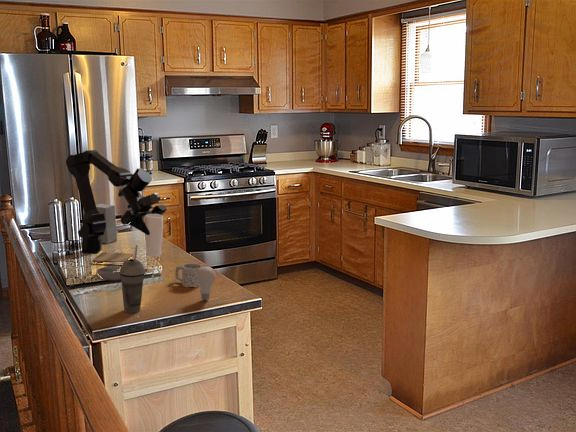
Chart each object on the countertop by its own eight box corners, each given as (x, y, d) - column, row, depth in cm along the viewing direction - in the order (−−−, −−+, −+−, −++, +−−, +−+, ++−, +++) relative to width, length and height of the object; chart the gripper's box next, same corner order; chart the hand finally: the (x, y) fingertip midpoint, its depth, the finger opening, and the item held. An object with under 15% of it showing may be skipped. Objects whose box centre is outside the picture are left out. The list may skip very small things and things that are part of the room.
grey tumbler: (165, 253, 222) (165, 214, 219) (159, 258, 216) (159, 218, 212) (148, 252, 223) (147, 213, 220) (141, 257, 216) (141, 217, 213)
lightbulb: (218, 299, 189) (219, 265, 187) (209, 304, 184) (210, 270, 181) (201, 296, 191) (201, 263, 189) (191, 301, 185) (192, 267, 183)
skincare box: (117, 241, 255) (117, 205, 252) (105, 244, 249) (105, 207, 246) (102, 238, 259) (102, 202, 256) (90, 241, 253) (90, 205, 250)
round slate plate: (91, 279, 202) (91, 275, 201) (103, 269, 214) (103, 265, 214) (130, 281, 202) (130, 277, 202) (139, 270, 215) (139, 266, 214)
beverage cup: (122, 306, 178) (122, 241, 175) (146, 306, 179) (147, 242, 175) (117, 314, 171) (117, 247, 167) (142, 315, 172) (143, 248, 168)
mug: (205, 284, 204) (205, 265, 203) (194, 289, 198) (194, 269, 197) (181, 279, 208) (181, 260, 207) (169, 283, 202) (170, 265, 201)
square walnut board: (92, 264, 220) (92, 260, 219) (102, 255, 232) (102, 252, 231) (125, 265, 220) (125, 261, 220) (132, 257, 232) (132, 253, 231)
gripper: (126, 188, 208) (148, 224, 205) (164, 183, 224) (185, 216, 221) (110, 206, 214) (132, 242, 211) (148, 201, 230) (169, 233, 226)
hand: (155, 233), depth 217 cm, fingers closed on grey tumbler, 6 cm apart
